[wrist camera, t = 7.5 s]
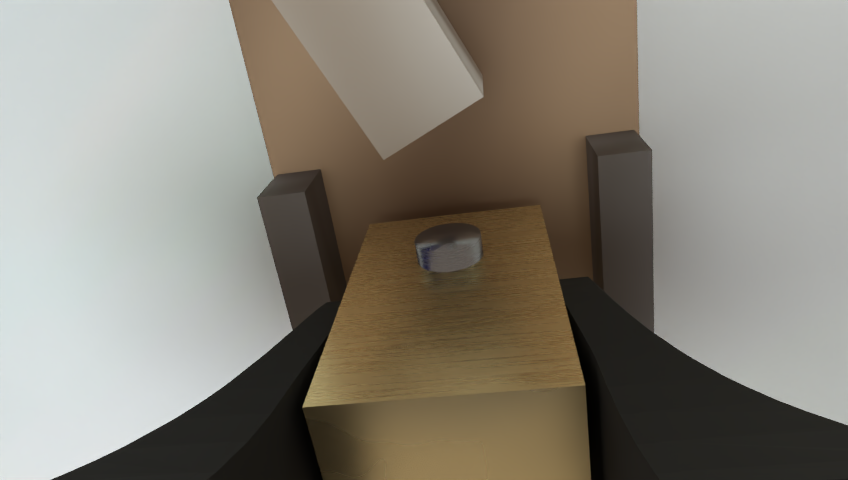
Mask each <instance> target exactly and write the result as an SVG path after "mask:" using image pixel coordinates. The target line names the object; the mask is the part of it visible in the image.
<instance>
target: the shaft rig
mask: <svg viewBox="0 0 848 480" xmlns="http://www.w3.org/2000/svg"><path fill="white" fill-rule="evenodd" d="M229 3H230V7H231V11H232V15H233V18H234V22H235V26H236V30H237V34H238V38H239V42H240V46H241V50H242V54H243V58H244V62H245V66H246V69H247V73H248V77H249V81H250V85H251V89H252V93H253V97H254V101H255V105H256V109H257V113H258V117H259V120H260V124H261V128H262V132H263V136H264V140H265V144H266V148H267V152H268V156H269V160H270V164H271V168H272V171H273V175H274V179H273V180H272V181H271V183H270V184H269V185H268V186H267V187H266V188H265V189H264V191H263V192H262V193H261V194H260V195H259V196H258V197H257V199H258V203H259V206H260V210H261V214H262V218H263V221H264V225H265V229H266V232H267V236H268V240H269V244H270V247H271V251H272V255H273V258H274V262H275V266H276V270H277V273H278V277H279V281H280V284H281V288H282V292H283V296H284V299H285V303H286V307H287V310H288V314H289V318H290V322H291V325H292V329H293V330H294V329H295V328H296V327H297V326H298V325H299V324H301V323H302V322H303V321H304V320H305V319H306V318H307V317H309V316H310V315H311V314H312V313H313V312H314V311H316V310H317V309H318V308H319V307H321V306H322V305H324V304H325V303H326V302H336V301H342V298H343V295H344V293H345V290H346V287H347V285H348V282H349V279H350V276H351V274H352V271H353V268H354V266H355V263H356V260H357V257H358V255H359V252H360V249H361V247H362V244H363V241H364V238H365V236H366V233H367V230H368V228H369V225H370V224H374V223H383V222H392V221H401V220H410V219H418V218H427V217H436V216H445V215H454V214H462V213H471V212H480V211H489V210H498V209H506V208H515V207H524V206H533V205H540V206H541V210H542V214H543V218H544V222H545V226H546V230H547V234H548V238H549V242H550V246H551V250H552V254H553V258H554V262H555V266H556V270H557V274H558V278H559V279H568V278H578V277H589V278H590V279H591V280H593V281H594V282H595V283H596V284H597V285H598V286H599V287H600V288H601V289H602V290H604V291H605V292H606V293H607V294H608V295H609V296H610V297H611V298H612V299H613V300H614V301H616V302H617V303H618V304H619V305H620V306H621V307H622V308H623V309H625V310H626V311H627V312H628V313H629V314H630V315H632V316H633V317H634V318H635V319H637V320H638V321H639V322H640V323H642V324H643V325H644V326H645V327H647V328H648V329H649V330H650V331H652V332H653V333H654V298H653V210H652V150H651V148H650V147H649V146H648V145H647V144H646V143H645V142H644V140H643V139H642V138H641V137H640V136H639V101H638V48H637V0H229Z"/></svg>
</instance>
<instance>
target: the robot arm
mask: <svg viewBox="0 0 848 480" xmlns="http://www.w3.org/2000/svg"><path fill="white" fill-rule="evenodd" d="M559 282H560V286H561V290H562V294H563V298H564V302H565V306H566V310H567V314H568V318H569V322H570V326H571V330H572V334H573V338H574V342H575V346H576V350H577V354H578V358H579V362H580V366H581V370H582V374H583V378H584V382H585V387H586V404H587V420H588V437H589V453H590V469H591V480H848V425H845V424H842V423H839V422H836V421H833V420H830V419H827V418H824V417H821V416H818V415H815V414H812V413H809V412H806V411H804V410H801V409H798V408H796V407H793V406H791V405H788V404H785V403H783V402H780V401H778V400H775V399H773V398H771V397H768V396H766V395H764V394H762V393H759V392H757V391H755V390H753V389H750V388H748V387H746V386H743V385H741V384H739V383H737V382H735V381H733V380H731V379H729V378H727V377H725V376H723V375H721V374H719V373H718V372H716V371H714V370H712V369H710V368H708V367H707V366H705V365H703V364H701V363H699V362H698V361H696V360H694V359H692V358H691V357H689V356H687V355H686V354H684V353H683V352H681V351H679V350H678V349H676V348H675V347H673V346H672V345H670V344H669V343H668V342H666V341H665V340H663V339H662V338H660V337H659V336H657V335H656V334H654V333H653V332H652V331H650V330H649V329H648V328H647V327H645V326H644V325H643V324H642V323H640V322H639V321H638V320H637V319H635V318H634V317H633V316H632V315H630V314H629V313H628V312H627V311H626V310H625V309H623V308H622V307H621V306H620V305H619V304H618V303H617V302H616V301H614V300H613V299H612V298H611V297H610V296H609V295H608V294H607V293H606V292H605V291H604V290H602V289H601V288H600V287H599V286H598V285H597V284H596V283H595V282H594V281H593V280H591V279H590V278H589V277H578V278H568V279H559ZM340 304H341V301H336V302H326V303H325V304H324V305H322V306H321V307H319V308H318V309H317V310H316V311H314V312H313V313H312V314H311V315H310V316H309V317H307V318H306V319H305V320H304V321H303V322H302V323H301V324H299V325H298V326H297V327H296V328H295V329H294V330H293V331H292V332H290V333H289V334H288V335H287V336H286V337H285V338H283V339H282V340H281V341H280V342H279V343H278V344H277V345H275V346H274V347H273V348H272V349H271V350H270V351H268V352H267V353H266V354H265V355H264V356H262V357H261V358H260V359H259V360H257V361H256V362H255V363H253V364H252V365H251V366H250V367H248V368H247V369H246V370H245V371H243V372H242V373H241V374H240V375H238V376H237V377H236V378H234V379H233V380H232V381H231V382H229V383H228V384H227V385H225V386H224V387H223V388H221V389H220V390H218V391H217V392H215V393H214V394H213V395H211V396H210V397H208V398H207V399H205V400H204V401H202V402H201V403H199V404H198V405H196V406H194V407H193V408H191V409H190V410H188V411H187V412H185V413H184V414H182V415H180V416H179V417H177V418H175V419H174V420H172V421H170V422H168V423H167V424H165V425H163V426H161V427H159V428H157V429H156V430H154V431H152V432H150V433H148V434H146V435H145V436H143V437H141V438H139V439H137V440H136V441H134V442H132V443H130V444H128V445H126V446H124V447H122V448H120V449H118V450H116V451H114V452H112V453H110V454H108V455H106V456H104V457H102V458H100V459H97V460H95V461H93V462H91V463H89V464H86V465H84V466H82V467H80V468H77V469H75V470H73V471H71V472H68V473H66V474H64V475H61V476H59V477H56V478H54V479H52V480H323V479H322V475H321V472H320V468H319V465H318V461H317V458H316V454H315V450H314V447H313V443H312V440H311V436H310V433H309V429H308V426H307V422H306V419H305V415H304V412H303V408H302V407H303V404H304V401H305V399H306V396H307V393H308V391H309V388H310V385H311V382H312V380H313V377H314V374H315V372H316V369H317V366H318V363H319V361H320V358H321V355H322V353H323V350H324V347H325V344H326V342H327V339H328V336H329V334H330V331H331V328H332V325H333V323H334V320H335V317H336V315H337V312H338V309H339V306H340Z"/></svg>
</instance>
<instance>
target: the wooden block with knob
mask: <svg viewBox="0 0 848 480" xmlns="http://www.w3.org/2000/svg"><path fill="white" fill-rule="evenodd" d="M302 408H303V412H304V415H305V419H306V422H307V426H308V429H309V433H310V436H311V440H312V443H313V447H314V450H315V454H316V458H317V461H318V465H319V468H320V472H321V475H322V479H323V480H591V469H590V453H589V437H588V420H587V404H586V387H585V382H584V378H583V374H582V370H581V366H580V362H579V358H578V354H577V350H576V346H575V342H574V338H573V334H572V330H571V326H570V322H569V318H568V314H567V310H566V306H565V302H564V298H563V294H562V290H561V286H560V282H559V278H558V274H557V270H556V266H555V262H554V258H553V254H552V250H551V246H550V242H549V238H548V234H547V230H546V226H545V222H544V218H543V214H542V210H541V206H540V205H533V206H524V207H515V208H506V209H498V210H489V211H480V212H471V213H462V214H454V215H445V216H436V217H427V218H418V219H410V220H401V221H392V222H383V223H374V224H370V225H369V228H368V230H367V233H366V236H365V238H364V241H363V244H362V247H361V249H360V252H359V255H358V257H357V260H356V263H355V266H354V268H353V271H352V274H351V276H350V279H349V282H348V285H347V287H346V290H345V293H344V295H343V298H342V301H341V304H340V306H339V309H338V312H337V315H336V317H335V320H334V323H333V325H332V328H331V331H330V334H329V336H328V339H327V342H326V344H325V347H324V350H323V353H322V355H321V358H320V361H319V363H318V366H317V369H316V372H315V374H314V377H313V380H312V382H311V385H310V388H309V391H308V393H307V396H306V399H305V401H304V404H303V407H302Z"/></svg>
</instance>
